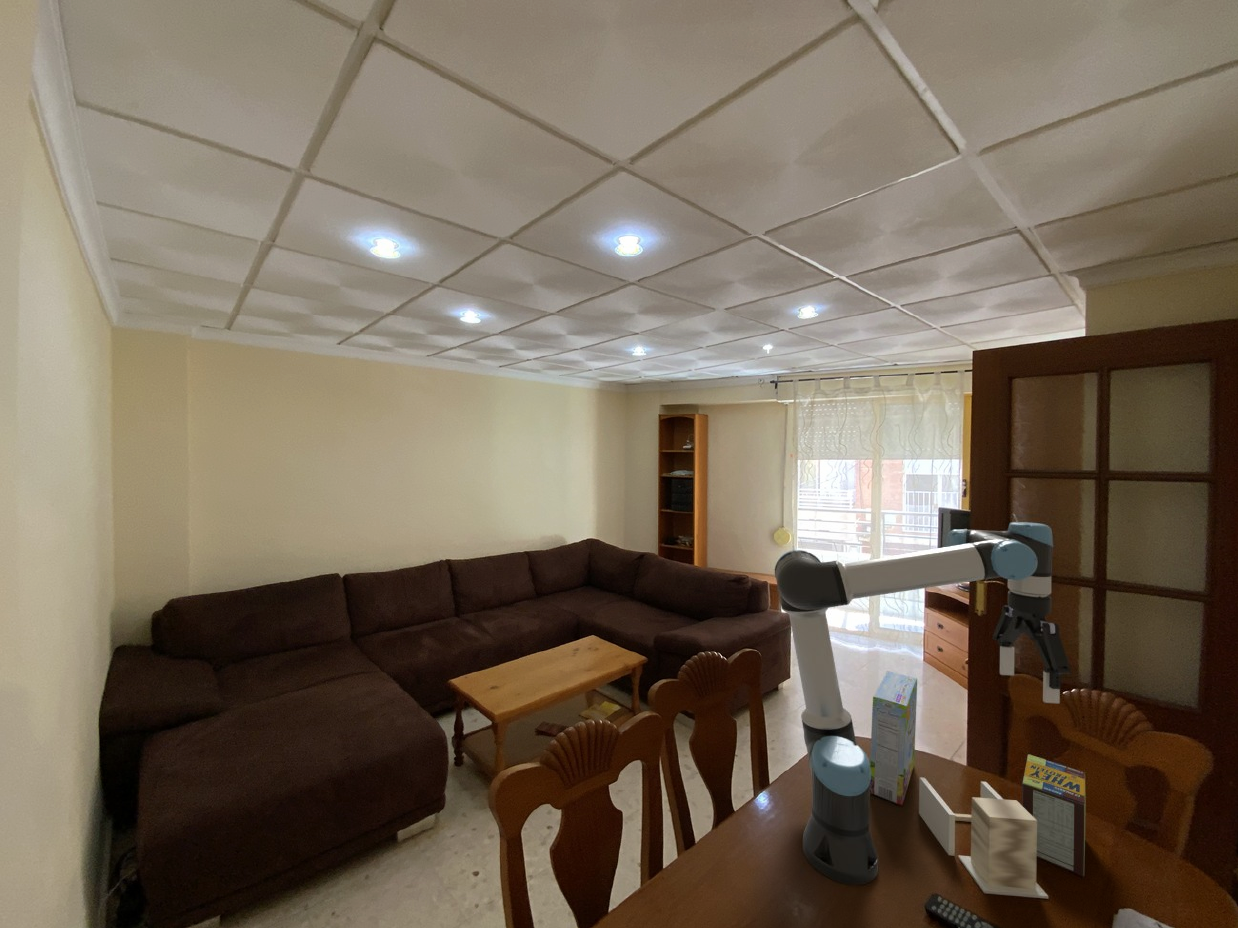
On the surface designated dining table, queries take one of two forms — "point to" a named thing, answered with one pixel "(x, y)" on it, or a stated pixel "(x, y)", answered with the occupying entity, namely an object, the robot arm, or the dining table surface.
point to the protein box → (1057, 811)
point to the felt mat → (1000, 889)
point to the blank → (1004, 842)
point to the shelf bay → (944, 813)
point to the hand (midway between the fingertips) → (1027, 687)
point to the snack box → (893, 736)
